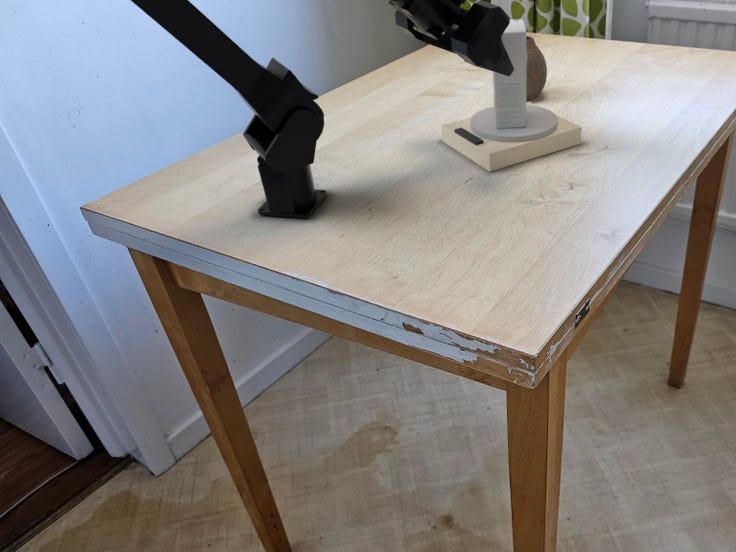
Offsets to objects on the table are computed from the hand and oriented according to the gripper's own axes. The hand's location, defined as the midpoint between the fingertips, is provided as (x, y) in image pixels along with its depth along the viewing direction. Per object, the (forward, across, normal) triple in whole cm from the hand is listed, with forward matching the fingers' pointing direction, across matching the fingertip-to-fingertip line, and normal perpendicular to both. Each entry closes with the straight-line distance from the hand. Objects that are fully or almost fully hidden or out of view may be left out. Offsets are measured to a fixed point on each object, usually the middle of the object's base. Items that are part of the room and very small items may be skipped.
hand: (491, 63), depth 85 cm
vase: (+19, +14, -3) cm, 24 cm away
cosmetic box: (+8, 0, +4) cm, 9 cm away
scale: (+10, 0, +6) cm, 12 cm away
